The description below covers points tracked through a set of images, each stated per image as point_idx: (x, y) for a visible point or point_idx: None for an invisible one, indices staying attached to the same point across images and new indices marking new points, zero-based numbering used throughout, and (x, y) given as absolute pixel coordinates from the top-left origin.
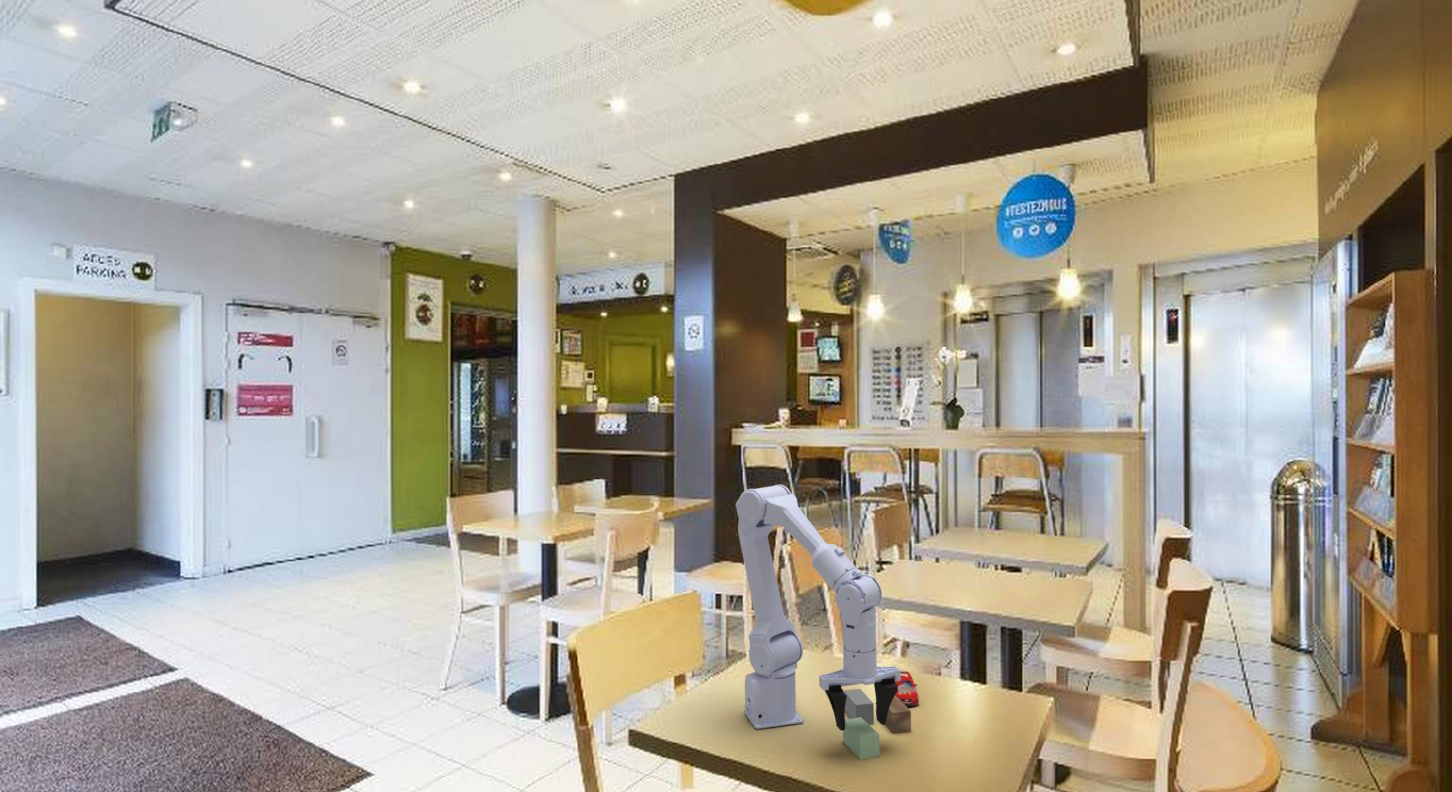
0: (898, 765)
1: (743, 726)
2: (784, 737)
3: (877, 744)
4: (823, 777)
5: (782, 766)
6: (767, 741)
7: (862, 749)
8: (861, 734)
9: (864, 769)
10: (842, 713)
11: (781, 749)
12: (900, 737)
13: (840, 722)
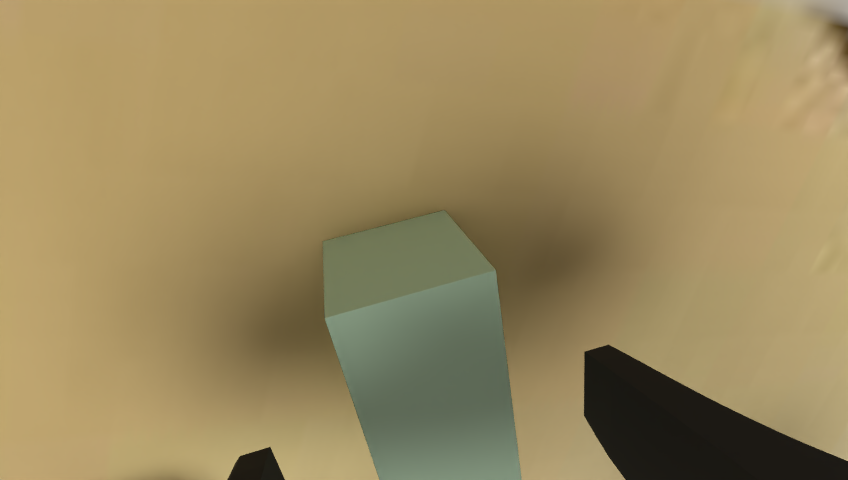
0: (210, 118)
1: None
2: None
3: (338, 273)
4: (710, 20)
5: (821, 165)
6: (764, 371)
7: (449, 234)
8: (472, 312)
9: (456, 88)
10: (738, 439)
11: (750, 313)
12: (145, 452)
13: (669, 379)
